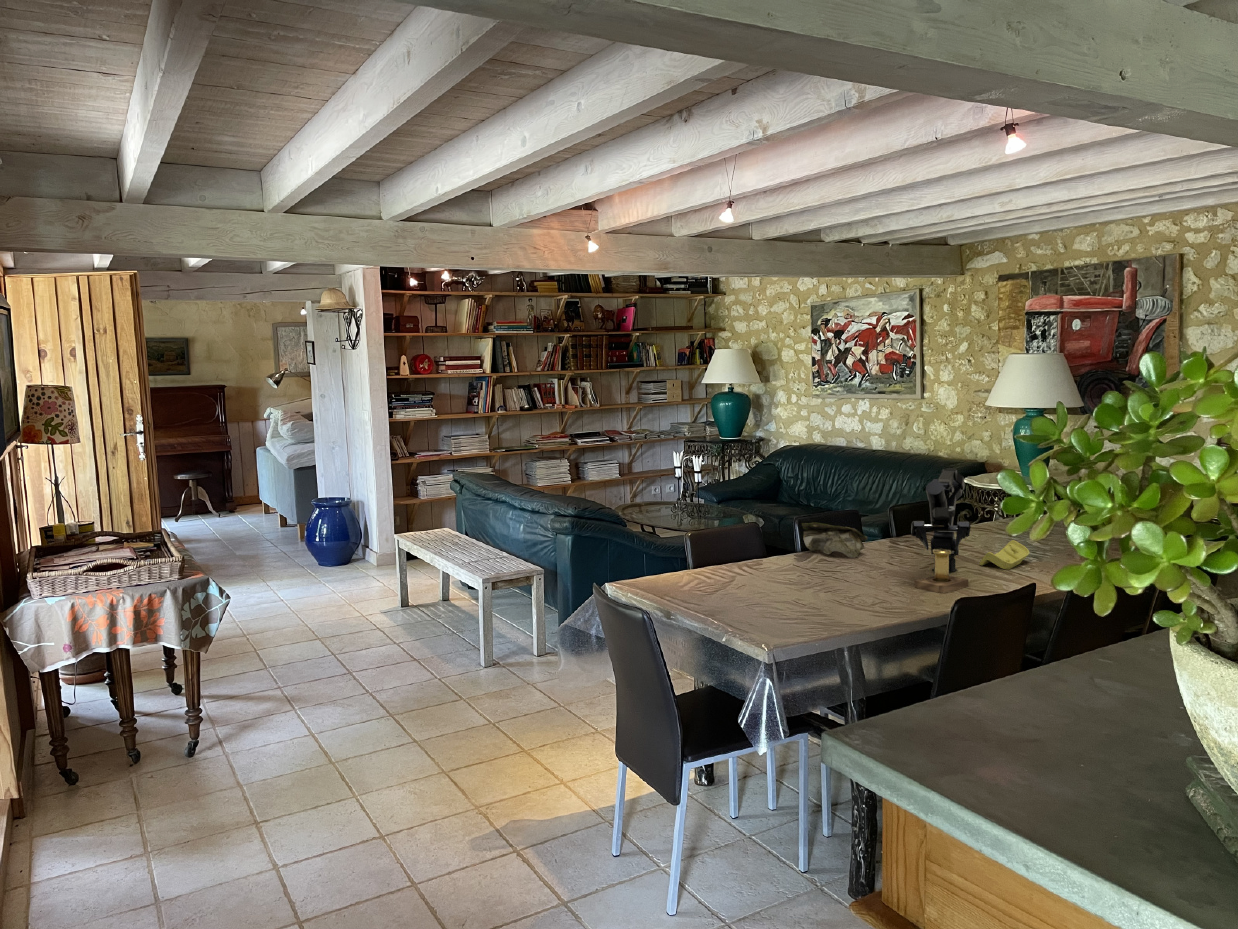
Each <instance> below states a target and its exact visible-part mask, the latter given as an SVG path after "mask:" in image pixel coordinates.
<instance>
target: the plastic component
mask: <svg viewBox="0 0 1238 929" xmlns="http://www.w3.org/2000/svg"><path fill="white" fill-rule="evenodd" d="M1029 555H1030V550H1029V549H1028V548H1027V547H1026V546H1025V545H1023V544H1022V543H1020V542H1018V541H1016V540H1014V539H1013V540H1010V541H1009V542H1008V543H1007V544H1006V545H1005V546H1004V547H1003V548H1001V550H1000V551H998V552H997V553H993V552H990V551H989V552H986V553H985V555H984V556H983V557H982V559H981V560H980V562H979V565H980V566H985V565H987V564H989V563H993V564H994V565H996V566H997V567H998V568H1001V570H1011V569H1013V568H1014V567H1017V566H1018V565H1020V564H1022V561H1023V560H1025V559H1026V558H1027V557H1028V556H1029Z"/></svg>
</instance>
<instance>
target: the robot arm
mask: <svg viewBox="0 0 1238 929" xmlns="http://www.w3.org/2000/svg"><path fill="white" fill-rule="evenodd" d="M964 478H965V477H964V476H963V475H962V474H960V473H959V472H958V470H957V469H955V468H943V469H941V474H940V475H939V477H938V478H937V479H936V478H933V479H932V481H930V482H929V483H927V485H926V486H925V491H926V495H927V500H928V502H929V504H928V505H929V513H930V514H929V515H930V516H929V517H930V524H925V521H924V520H913V521H912V522H911V526H910V527H911V528H910V533H911V536H912V537H915V538H916V539H919V541H920V542H921V543H922V544H923V546H924V547H925V549H926V550H927V551H929V543H928V541H929V540H928V538H927V532H933V536H932V537H931V538H930V551H931V552H930V553H931V554H930V555H933V556H934V557H933V558H934V559H933V560H934V566H933V567H934V568H931V571H934V572H935V554H934V553H933V550H934V549H948V550H951V554H949V573H952V572H957V571H958V568H956V562H957V560H956V558H955V557H956V556H959V555H960V554H959V550H960V549H959V546H960V543H961V541H962V540H963V539H966V538H968V537H969V536H970V532H971V527H972V526H971V523H970V522H969V521H965V520H964V521H961V520H960V521H959V520H958V521H957V522H956V525H954V519H955V515H956V507H957V506H956V504H957V501H958V499H959V498H961V496H962V495H963V491H964V490H965V479H964ZM955 533H956V536H955Z"/></svg>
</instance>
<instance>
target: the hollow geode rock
mask: <svg viewBox="0 0 1238 929" xmlns="http://www.w3.org/2000/svg"><path fill="white" fill-rule="evenodd" d="M801 527H802V528H803V530H804V531H803V538H802V539H803V541H804V542H803V543H804V545H805V547H806V548H807V549H808V550H810V552H818V551H819V552H822V553H824V554H826V555H831V554H832V553H833V552H839V553H842V554H844V555H845V556H847V557H848V558H849V559H856V558H858V557H859V555H860V553H861V551H862V550H863V549H864V548H865V547H864V546H865V545H864V542H865V541H868V536H866V535H865V534H863V533H862V532H860V530H858V529H856V528H854V527H848V526H841V525H832V524H829V523H828V524H827V523H822V522H814V521H813V522H809V523H808V522H807V523H806V522H801Z"/></svg>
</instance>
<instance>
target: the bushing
mask: <svg viewBox="0 0 1238 929" xmlns="http://www.w3.org/2000/svg"><path fill="white" fill-rule="evenodd" d="M933 553H934V554H935V571H934V575H935V581H936V582H949V576H950V572H949V554H951V550H948V549H934V550H933ZM934 554H933V555H934Z"/></svg>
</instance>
